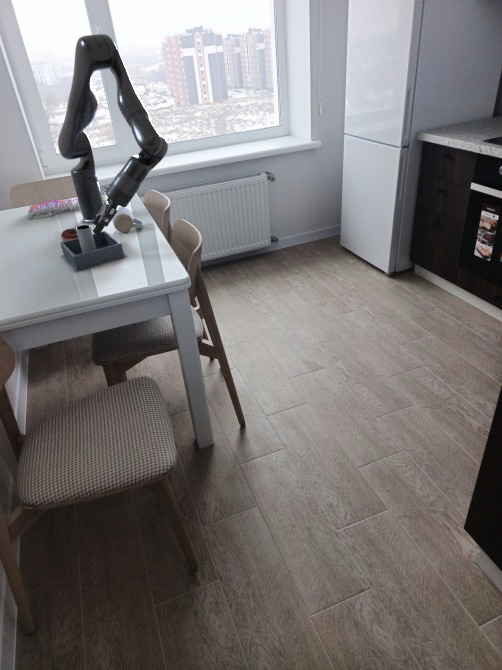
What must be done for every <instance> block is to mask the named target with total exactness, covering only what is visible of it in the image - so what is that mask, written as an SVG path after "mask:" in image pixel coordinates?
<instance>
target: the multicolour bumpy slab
mask: <svg viewBox="0 0 502 670" xmlns="http://www.w3.org/2000/svg"><path fill="white" fill-rule="evenodd" d="M76 210H78V211H79V210H80V211H81V209H80V205H79V202H78V198H77V197H76V198H67V199H64V200H63V199H62V200H61V199H53V200H52V199H51V200H45V201H43V202H39V203H36V204H32V205H30V206H29V207H28V211H27V214H28V218H29V219H30V220H31V219H32V220H33V219H38V218H39V219H40V218H42V217H43V214H46V213H47V215H44V217H45V218H46V217H51V216H54V214H55V215H56V214H57V213H63V212H65V211H69V212H71V211H76ZM52 212H55V213H53V214H52ZM33 216H34V217H33ZM35 216H36V217H35Z"/></svg>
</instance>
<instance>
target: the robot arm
mask: <svg viewBox="0 0 502 670" xmlns="http://www.w3.org/2000/svg"><path fill="white" fill-rule="evenodd" d="M74 50H75V51H74V61H73V62H74V63H73V64H74V65H73V74H72V82H71V87H70V91H69V95H68V100H67V106H66V107H67V108H66V112H65V116H64V120H63V123H62V126H61V129H60V131H59V134H58V139H57V147H58V151H59V154H60V155H61V156H62V157H63V158H64V159H66V160H68V161H69V160H77V159H79V162H78V163H77V164H76V165H75V166H74V167H73V168H72V169H70V176H71V179H72V182H73V187H74V190H75V195H76V199H77V198H78V202H79V207H80V208H79V209H80V213H81V216H82V221H83V223H86V224H87V223H88V224H93V225H94V228H93V229H92V234H96V235H99V234H100V233H101V232H103V231H104V228H105V227H106V228H107V227H108V226H109V225H110V223H111V221H112V219H113V217H114V216H115V214H116V213H117V208H119V207H124V208H126V207H128V206H129V204H130V202H131V201H132V200H133V198H134V197H135V195H136V193H138V191H139V189H140V187H141V185H142V184H143V182H144V180H145V179H146V177H147V176H148V174H149V173H150V172H151V171H152V170H153V169H154V168H155V167H156V166H158V164H159V163H160V162H162V160H163V159H164V158H165V156H166V155H167V153H168V148H169V143H168V140H167V138H166V137H165V136H163V135H162V134H160V133H159V132H158V131H157V130H156V128H155V127H154V125H153V123H152V118H151V115H150V114H149V112H148V109H147V108H146V107H145V105H144V103H143V101H142V100H141V98H140V96H139V95H138V93H137V91H136V89H135V87H134V85H133V82H132V80H131V77H130V75H129V72H128V70H127V68H126V65H125V62H124V60H123V58H122V55H121V53H120V51H119V48H118V47H117V45H116V43H115V41H114V40H113V39H112V38H111V36H110V35H109V34H106V33H98V34H97V33H96V34H89V35H82V36H80V37H79V38H78V39H77V41H76V44H75V49H74ZM107 70H109V72H110V73H111V74H112V75H113V77H114V79H115V83H116V102H117V107H118V109H119V112H120V113H121V115H122V116H123V118H124V120H125V121H126V123H127V125H128V127H129V128H130V130H131V132H132V135H133V137H134V140H135V142H136V144H137V145H138V147H139V148H140V151H139V152H138V154H135V155H132V156H130V157H129V158H128V159H127V161H126V162H125V164H124V165H123V167H122V168H121V170H120V171H119V172H118V173H117V174H116V175H115V177H114V179H113V180H112V182H111V183H110V185H109V186H107V185H105V186H104V188H103V190H102V191H101V187H100V184H99V179H98V175H97V171H96V162H95V157H94V151H93V146H92V142H91V140H90V137H89V135H88V133H87V132H86V131H84V130H85V129H86V128H88V127H89V125H90V124H91V123H92V122H93V121H94V120H95V118H96V115H97V111H98V108H99V103H100V101H99V95H98V93H97V91H96V89H95V87H94V86H93V84H92V78H93V74H94V73H95V72H98V71H107ZM104 194H105V195H106V196H107V199H106V200H105V202H104V197H103V195H104Z"/></svg>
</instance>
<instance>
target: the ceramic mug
mask: <svg viewBox="0 0 502 670" xmlns="http://www.w3.org/2000/svg"><path fill="white" fill-rule="evenodd" d="M111 221H112V225H113V227H114V228H115V230H117V231H118V232H120V233H128V232H129V231H131V230H132V229H133V228H134V229H142V228H143V225H144V223H143V222H142V221H141V220H139V219H136V218H134V217H133V213H132V212H131V210H130V209H129V208H126V207H121V206H118V207H117V213H116V214H115V216H114V217H113V219H112V220H111Z"/></svg>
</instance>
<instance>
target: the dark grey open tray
mask: <svg viewBox="0 0 502 670" xmlns="http://www.w3.org/2000/svg"><path fill="white" fill-rule="evenodd" d="M92 235H93V239H94V242H95V246H96V250H94V251H90V252H86V253H82V250H81V246H80V242H79V239H78V238H76V239H72V240H68V241H64V242H63V241H60V242H59V244H60V248H61V251H62V254H63V256H64V258H65V259H66V260H67V261H68V262H69V264H70V265H71V266H72V267H73V268H74V269H75V270H76V272H79V271H83V270H87V269H90V268H93V267H96V266H101V265H103V264H107V263H111V262H114V261H118V260H121V259H125V253H124V249H123V244H122V243H121V242H120V241H119V240H117V239H116V238H115V237H113V235H111V234H110V233H109V232H107V231H106V230H102V231H101V233H100V234H99V235H96V234H95V233H92Z"/></svg>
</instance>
